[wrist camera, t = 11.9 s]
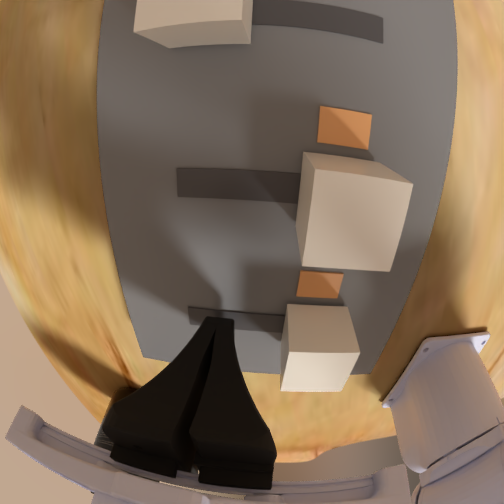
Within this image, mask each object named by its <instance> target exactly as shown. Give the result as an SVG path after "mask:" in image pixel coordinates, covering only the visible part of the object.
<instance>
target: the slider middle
mask: <svg viewBox="0 0 504 504" xmlns="http://www.w3.org/2000/svg"><path fill="white" fill-rule="evenodd" d="M412 188H413V183H411V182H410V181H408V180H407V179H405V178H403V177H402V176H400V175H399V174H397V173H396V172H394V171H392V170H391V169H389V168H388V167H386V166H384V165H383V164H381V163H379V162H375V161H369V160H363V159H356V158H350V157H343V156H336V155H328V154H320V153H311V152H303V160H302V171H301V181H300V190H299V199H298V208H297V217H296V225H295V226H296V232H297V238H298V244H299V251H300V257H301V263H302V266H308V267H322V268H337V269H353V270H369V271H385V272H390V269H391V266H392V263H393V260H394V257H395V254H396V250H397V247H398V244H399V240H400V237H401V233H402V229H403V226H404V222H405V218H406V214H407V210H408V206H409V201H410V197H411V192H412Z"/></svg>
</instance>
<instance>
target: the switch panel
mask: <svg viewBox="0 0 504 504" xmlns="http://www.w3.org/2000/svg"><path fill="white" fill-rule="evenodd" d="M136 5H137V0H105V1H104V7H103V14H102V21H101V29H100V39H99V51H98V67H97V128H98V145H99V158H100V169H101V178H102V186H103V194H104V201H105V208H106V214H107V220H108V226H109V231H110V237H111V242H112V247H113V252H114V256H115V261H116V265H117V270H118V274H119V278H120V282H121V286H122V290H123V293H124V297H125V301H126V304H127V308H128V311H129V315H130V318H131V321H132V325H133V328H134V331H135V334H136V337H137V340H138V343H139V346H140V349H141V352H142V355H143V357H145V358H150V359H155V360H161V361H166V362H172V361H173V360H174V358H175V357H176V356H177V355H178V354H179V353H180V352H181V351H182V349H183V348H184V347H185V346H186V345H187V343H188V342H189V341H190V339H191V338H192V337H193V335H194V334H195V333H196V331H197V330H198V328H199V327H200V325H201V324H202V322H203V320H204V319H205V317H207V316H210V317H220V318H230V319H233V320H234V321H235V348H236V353H237V358H238V362H239V365H240V369H241V371H242V372H254V373H268V374H280V345H281V339H282V333H283V327H284V321H285V315H286V309H287V304H299V305H319V306H344V307H348V310H349V313H350V317H351V320H352V324H353V327H354V331H355V334H356V338H357V342H358V345H359V349H360V355H359V357H358V359H357V361H356V363H355V365H354V367H353V369H352V371H351V373H350V375H356V374H370V373H371V371H372V370H373V368H374V366H375V364H376V362H377V361H378V359H379V357H380V355H381V353H382V351H383V349H384V347H385V345H386V343H387V341H388V339H389V337H390V335H391V333H392V331H393V329H394V327H395V325H396V323H397V321H398V318H399V316H400V314H401V312H402V310H403V307H404V305H405V303H406V300H407V298H408V295H409V293H410V291H411V288H412V286H413V283H414V281H415V278H416V275H417V273H418V270H419V267H420V264H421V262H422V259H423V256H424V253H425V250H426V247H427V244H428V241H429V238H430V234H431V231H432V228H433V224H434V221H435V217H436V214H437V210H438V206H439V202H440V198H441V194H442V190H443V185H444V181H445V176H446V171H447V166H448V161H449V155H450V149H451V142H452V135H453V128H454V119H455V109H456V95H457V33H456V21H455V11H454V3H453V0H253V9H252V26H251V44H216V45H199V46H187V47H177V48H167V47H165V46H163V45H161V44H159V43H157V42H155V41H153V40H150V39H148V38H146V37H144V36H141V35H139V34H136V33H134V32H133V31H134V21H135V13H136ZM303 152H311V153H320V154H328V155H336V156H343V157H350V158H356V159H363V160H369V161H375V162H379V163H381V164H383V165H384V166H386V167H388V168H389V169H391V170H392V171H394V172H396V173H397V174H399V175H400V176H402V177H403V178H405V179H407V180H408V181H410V182H411V183H413V188H412V192H411V197H410V201H409V206H408V210H407V214H406V218H405V222H404V226H403V229H402V233H401V237H400V240H399V244H398V247H397V250H396V254H395V257H394V260H393V263H392V266H391V269H390V272H385V271H369V270H353V269H337V268H322V267H308V266H302V263H301V257H300V251H299V244H298V238H297V232H296V226H295V225H296V217H297V208H298V199H299V190H300V181H301V171H302V160H303Z"/></svg>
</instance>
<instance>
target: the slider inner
mask: <svg viewBox="0 0 504 504" xmlns="http://www.w3.org/2000/svg"><path fill="white" fill-rule="evenodd" d="M359 355H360V349H359V345H358V342H357V338H356V334H355V331H354V327H353V324H352V320H351V317H350V313H349V310H348V307H344V306H319V305H299V304H287V309H286V315H285V321H284V327H283V333H282V339H281V345H280V391H295V392H332V391H342V389H343V387H344V385H345V383H346V381H347V379H348V377H349V375H350V373H351V371H352V369H353V367H354V365H355V363H356V361H357V359H358V357H359Z"/></svg>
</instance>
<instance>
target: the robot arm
mask: <svg viewBox="0 0 504 504" xmlns="http://www.w3.org/2000/svg"><path fill="white" fill-rule="evenodd" d="M489 338H490V333H489V332H480V333H472V334H463V335H454V336H443V337H430V338H427V339H425V340H424V341H423V342H422V344H421V345H420V347H419V349H418V350H417V352H416V354H415V355H414V357H413V359H412V360H411V362H410V363H409V365H408V366H407V368H406V369H405V371H404V373H403V374H402V376H401V377H400V378H399V380H398V381H397V383H396V384H395V386H394V387H393V389H392V390H391V391H390V393H389V394H388V395H387V397H386V398H385V399H384V401H383V402H382V407H383V408H387V407H391V411H392V415H393V419H394V424H395V428H396V433H397V437H398V442H399V447H400V452H401V456H402V459H403V461H404V462H405V464H406V465H407V466H408V467H409V468H410V469H411V470H413V471H415V472H418V473H420V474H419V478H420V483H419V484H418V485H417V487H416V488H415V490H414V492H413V494H412V497H411V496H410V489H409V482H408V476H407V470H406V465H405V464H401V465H396V466H392V467H387V468H383V469H380V470H377V471H376V472H374V473H373V474H371V475H365V476H358V477H351V478H343V479H332V480H319V481H301V482H300V481H296V482H275V481H274V482H273V481H272V475H273V469H274V467H273V466H274V462H275V459H276V457H277V451H276V447H275V443H274V441H273V438H272V435H271V433H270V430H269V428H268V427H267V425H266V423H265V422H264V420H263V419H262V417H261V415H260V413H259V412H258V410H257V408H256V406H255V404H254V402H253V400H252V398H251V395H250V393H249V391H248V389H247V386H246V384H245V381H244V378H243V375H242V372H241V369H240V365H239V362H238V358H237V353H236V348H235V321H234V320H233V319H230V318H220V317H210V316H207V317H205V319H204V320H203V322H202V324H201V325H200V327H199V328H198V330H197V331H196V333H195V334H194V335H193V337H192V338H191V339H190V341H189V342H188V343H187V345H186V346H185V347H184V348H183V349H182V351H181V352H180V353H179V354H178V355H177V356H176V357H175V358H174V360H173V361H172V362H171V363H170V364H169V365H168V366H167V367H166V368H164V369H163V370H162V371H161V372H160V373H159V374H158V375H157V376H155V377H154V378H153V379H152V380H150V381H149V382H148V383H147V384H145V385H144V386H142V387H141V388H139V389H138V390H136V391H135V392H133V393H132V394H130V395H129V396H127V397H125V398H123V399H121V400H119V401H118V402H116V403H114V404H113V405H112V406H111V408H110V410H109V411H108V413H107V415H106V418H105V420H104V423H103V425H102V430H103V432H104V433H105V435H106V436H107V437H108V438H109V439H110V440H111V441H112V442H113V443H114V445H113V448H112V451H109V450H106V449H103V448H101V447H98V446H96V445H93V444H91V443H88V442H86V441H83V440H81V439H79V438H77V437H74V436H72V435H70V434H68V433H66V432H64V431H62V430H59V429H58V428H56V427H53V426H52V425H50V424H48V423H46V422H44V420H43V419H42V418H41V417H40V416H39V415H38V414H36V413H35V412H33V411H31V410H30V409H28V408H26V407H24V406H21V407H20V409H19V411H18V413H17V415H16V416H15V419H14V421H13V422H12V425H11V426H10V428H9V431H8V433H7V435H6V437H5V438H6V439H7V440H8V441H9V442H10V443H12V444H13V445H14V446H16V447H17V448H18V449H19V450H21V451H22V452H23V453H25V454H26V455H27V456H29V457H30V458H32V459H33V460H35V461H36V462H38V463H40V464H41V465H43V466H45V467H46V468H48V469H50V470H51V471H53V472H55V473H57V474H58V475H60V476H62V477H64V478H66V479H67V480H70V481H71V482H73V483H75V484H77V485H79V486H81V487H83V488H86V489H87V490H90V491H92V492H94V496H93V499H92V503H91V504H504V406H503V404H502V402H501V399H500V397H499V395H498V393H497V390H496V388H495V386H494V384H493V382H492V380H491V378H490V375H489V373H488V371H487V369H486V367H485V366H484V364H483V362H482V360H481V358H480V356H479V352H480V351H481V350H482V348H483V347H484V345H485V344H486V342H487V341H488V339H489ZM123 470H124V471H123ZM198 470H199V474H198ZM125 471H127V472H130V473H133V474H136V475H140V476H143V477H147V478H150V479H154V480H158V481H162V482H166V483H170V484H174V485H179V486H184V487H188V488H194V489H200V490H206V491H212V492H220V493H228V494H238V495H246V496H245V497H244V500H242V499H234V498H228V497H221V496H216V495H210V494H205V493H200V492H196V491H192V490H189V489H184V488H180V487H176V486H170V485H167V484H163V483H159V482H155V481H151V480H148V479H144V478H141V477H138V476H134V475H131V474H128V473H127V472H125Z"/></svg>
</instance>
